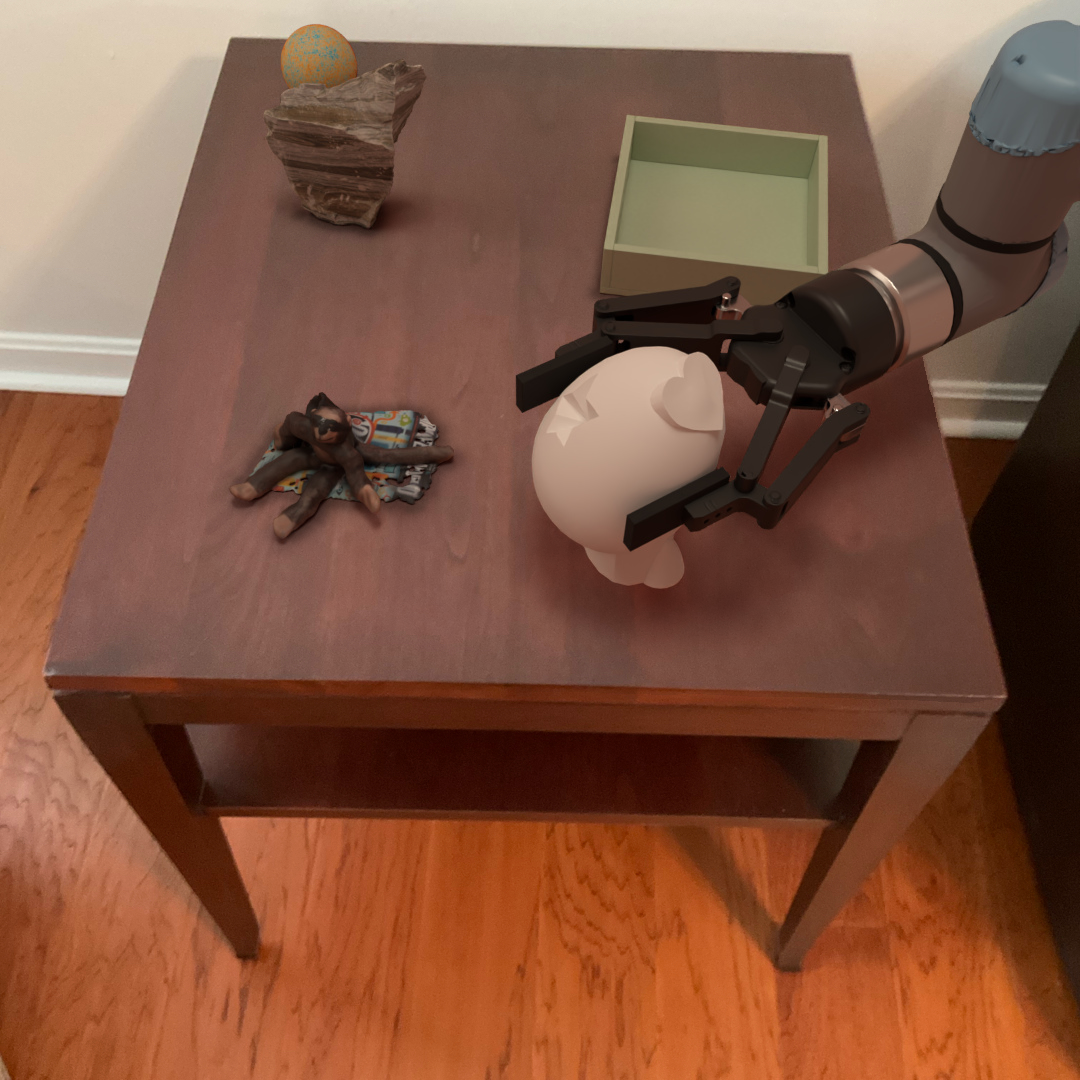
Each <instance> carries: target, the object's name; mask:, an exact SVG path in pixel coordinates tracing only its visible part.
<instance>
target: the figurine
mask: <svg viewBox="0 0 1080 1080" xmlns="http://www.w3.org/2000/svg"><path fill="white" fill-rule="evenodd" d="M721 378H722V377H721V375H720V372H718V370H717V368H716V366H715V365H714V363H713V362H712V361H711V360H710V359H709V357H708V356H707V355H705V354H704V353H701V352H695V353H692V354H689V355H688V354H686V353H684V352H681V351H679V350H676V349H673V348H669V347H660V346H656V347H640V348H633V349H630V350H628V351H625V352H622V353H619V354H616V355H613V356H611V357H608V358H606V359H604V360H603V361H601V362H600V363H598V364H596V365H595V366H593V367H591V368H590V369H588V370H587V371H586V372H584V373H583V374H582V375H580V376H579V377H578V378H577V379H576V380H575V381H574V382H573V383H571V384H570V385H569V386H568V387H567V388H566V389H565V390H564V391H563V392H562V394H561V395H560V396H559V397H557V398H556V399H555V401H554V402H553V404H552V405H551V406H550V408H549V409H548V410H547V411H546V413H545V414H544V415H543V417H542V420H541V422H540V424H539V426H538V429H537V431H536V434H535V436H534V441H533V446H532V453H531V460H530V461H531V462H530V463H531V474H532V482H533V486H534V490H535V493H536V497H537V500H538V501H539V503H540V506H541V508H542V509H543V511H544V512H545V514H546V516H547V517H548V518H549V520H550V521H551V522H552V523H553V525H554V526H556V528H557V529H558V530H559V531H560V532H561V533H563V534H564V535H565V536H566V537H568V538H569V539H570V540H572V541H574V542H575V543H577V544H579V545H580V546H582V547H583V548H584V551H585V553H586V556H587V558H588V559H589V561H590V562H591V563H592V565H593V566H594V567H595V569H596V570H597V572H598V573H600V574H601V575H602V576H603V577H605V578H607V579H608V580H609V581H610V582H612V583H616V584H620V585H623V586H628V587H629V586H635V585H639V584H644V585H645V586H647V587H649V588H653V589H668V588H671V587H673V586H675V585H677V584H678V583H679V582H680V581H681V579H683V576H684V574H685V569H686V567H685V563H684V558H683V555H682V552H681V550H680V547H679V545H678V542H676V540H675V539H674V537H675V534H676V532H677V531H679V529H680V528H681V527H683V525H681V526H679V527H677V528H675V529H673V530H671V531H669V532H667V533H666V534H664V535H662V536H660V537H658V538H656V539H654V540H652V541H650V542H648V543H646V544H644V545H643V546H641V547H639V548H637V549H635V550H633V551H631V552H630V551H629V550H628V548H627V547H626V546H625V544H624V543H623V538H624V531H625V524H626V517H627V515H628V514H630V513H632V512H634V511H636V510H638V509H640V508H642V507H643V506H645V505H647V504H649V503H651V502H653V501H655V500H657V499H659V498H661V497H663V496H665V495H667V494H669V493H671V492H673V491H675V490H677V489H679V488H681V487H683V486H685V485H687V484H689V483H691V482H693V481H695V480H697V479H699V478H701V477H703V476H705V475H707V474H709V473H711V472H712V471H714V470H716V469H717V468H718V463H719V459H720V455H721V450H722V446H723V443H724V440H725V433H726V432H727V431H726V412H725V405H724V390H723V384H722V379H721Z"/></svg>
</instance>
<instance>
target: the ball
mask: <svg viewBox="0 0 1080 1080" xmlns="http://www.w3.org/2000/svg"><path fill="white" fill-rule="evenodd" d="M280 70H281V74H282V77H283V80H284V83H285V85H286V86H287V88H288V89H291V88H295V87H299V85H300V84H301V83H313V84H319V83H321V84H326V85H325V86H326V88H327V89H330V88H332V87H335V86H338V85H341V84H343V83H344V82H346V81H348V80H350V79H354V78H357V77H358V61H357V56H356V53H355V50H354V49H353V47H352V45H351V43H350V42H349V40H348V39H347V38H346V37H345V36H344V35H343V34H342V33H341V32H339V31H338V30H336V28H333V27H331V26H329V25H325V24H321V23H311V24H310V23H309V24H307V25H304V26H301V27H299V28H297V29H296V30H294V31H293V32H292V33H291V34H290V35H289V36H288V37H287V38H286V40H285V43H284V44H283V47H282V49H281V54H280Z"/></svg>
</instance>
